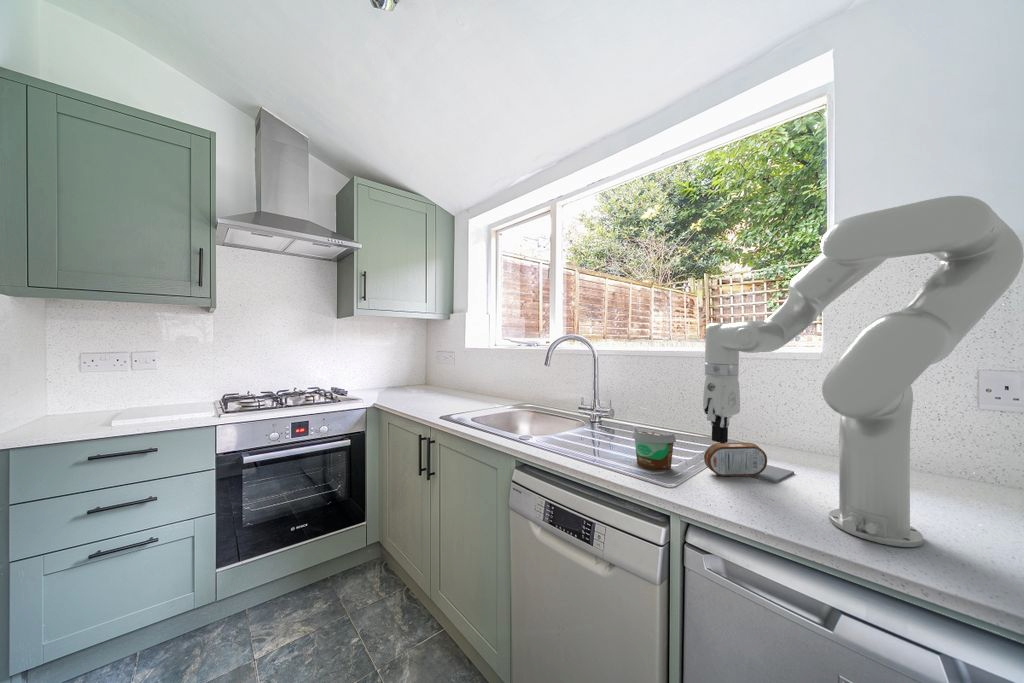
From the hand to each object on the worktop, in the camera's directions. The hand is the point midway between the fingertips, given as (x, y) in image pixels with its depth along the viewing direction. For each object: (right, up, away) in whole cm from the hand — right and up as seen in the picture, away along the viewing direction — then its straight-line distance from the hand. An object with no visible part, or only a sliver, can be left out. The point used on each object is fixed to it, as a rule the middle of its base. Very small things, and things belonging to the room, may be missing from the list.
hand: (719, 441), depth 93 cm
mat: (+14, -10, +8) cm, 19 cm away
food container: (-14, -10, +10) cm, 20 cm away
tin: (+6, -10, +3) cm, 12 cm away
